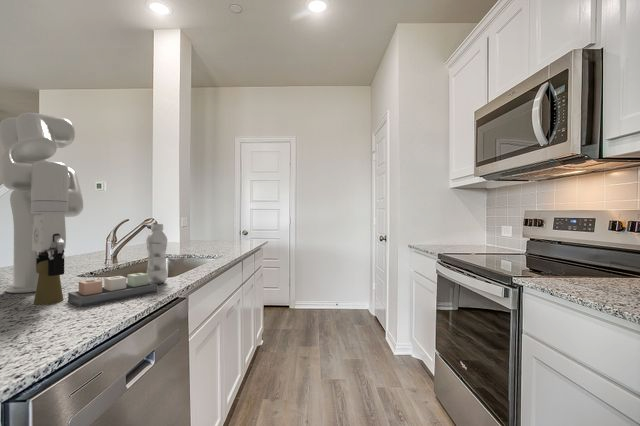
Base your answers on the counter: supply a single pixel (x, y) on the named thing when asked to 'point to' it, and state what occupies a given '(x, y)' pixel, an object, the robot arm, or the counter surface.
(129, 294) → the base
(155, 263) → the plastic bottle
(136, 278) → the key sage
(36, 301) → the olive rounded piece
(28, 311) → the counter surface
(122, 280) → the key cream
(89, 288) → the peach square block
